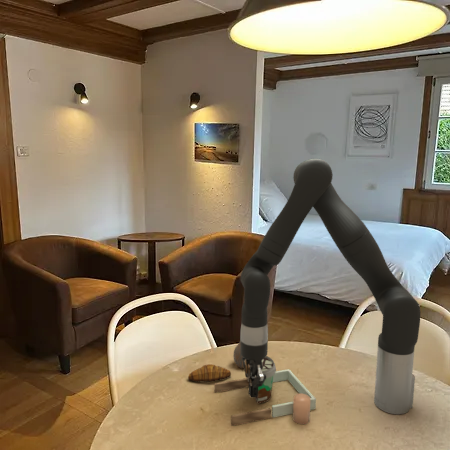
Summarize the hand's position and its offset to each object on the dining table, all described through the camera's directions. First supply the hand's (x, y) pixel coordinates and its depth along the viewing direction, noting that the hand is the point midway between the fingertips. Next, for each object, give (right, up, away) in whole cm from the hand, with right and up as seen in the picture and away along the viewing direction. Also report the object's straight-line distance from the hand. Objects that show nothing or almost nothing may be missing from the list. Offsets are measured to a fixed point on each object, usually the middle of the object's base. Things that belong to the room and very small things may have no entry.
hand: (253, 395), depth 118 cm
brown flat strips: (-3, -2, 0) cm, 4 cm away
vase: (-2, +1, +21) cm, 21 cm away
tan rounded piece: (+12, -3, -7) cm, 15 cm away
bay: (+8, -1, +3) cm, 9 cm away
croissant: (-13, 0, +13) cm, 18 cm away
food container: (+4, -1, +4) cm, 6 cm away
